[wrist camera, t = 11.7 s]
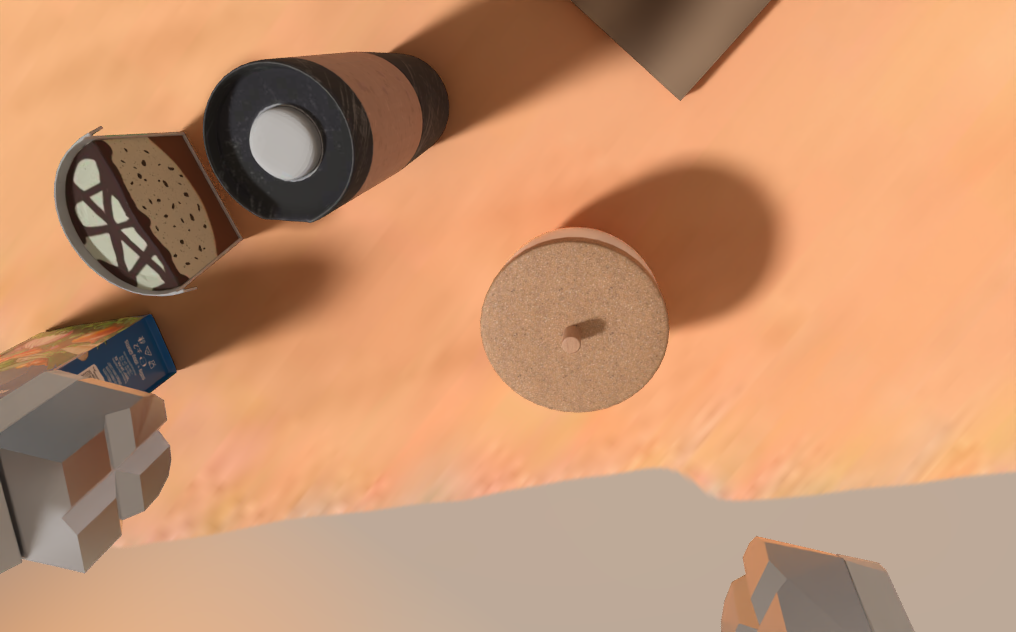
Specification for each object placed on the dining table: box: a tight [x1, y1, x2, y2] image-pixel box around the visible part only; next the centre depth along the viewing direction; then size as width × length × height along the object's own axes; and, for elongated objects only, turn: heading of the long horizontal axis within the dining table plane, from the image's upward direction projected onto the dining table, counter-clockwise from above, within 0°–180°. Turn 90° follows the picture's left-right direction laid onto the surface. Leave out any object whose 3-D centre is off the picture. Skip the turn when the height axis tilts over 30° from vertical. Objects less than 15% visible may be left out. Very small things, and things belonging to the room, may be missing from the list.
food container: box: [54, 126, 243, 296], centre depth 49 cm, size 12×6×10 cm, turn 22°
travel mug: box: [203, 52, 449, 223], centre depth 39 cm, size 8×8×20 cm
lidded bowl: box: [480, 227, 669, 412], centre depth 47 cm, size 13×13×11 cm
